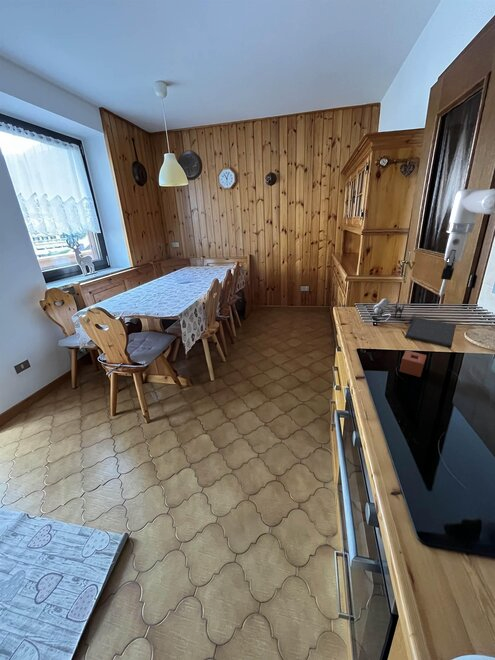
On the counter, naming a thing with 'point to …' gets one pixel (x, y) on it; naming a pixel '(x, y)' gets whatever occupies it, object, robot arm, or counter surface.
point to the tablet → (431, 332)
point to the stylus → (443, 287)
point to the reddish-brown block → (412, 363)
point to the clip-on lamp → (383, 305)
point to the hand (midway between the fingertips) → (446, 278)
